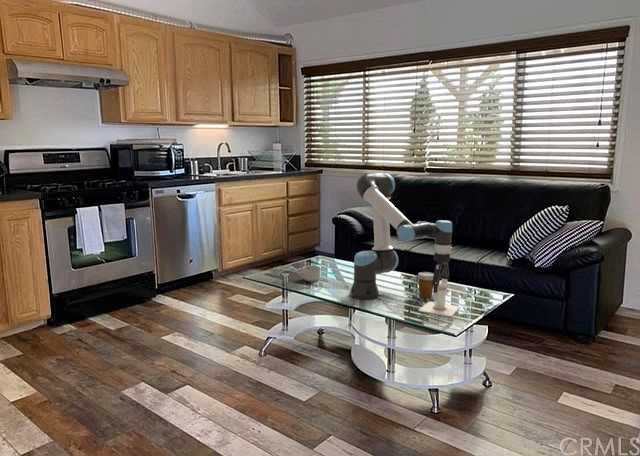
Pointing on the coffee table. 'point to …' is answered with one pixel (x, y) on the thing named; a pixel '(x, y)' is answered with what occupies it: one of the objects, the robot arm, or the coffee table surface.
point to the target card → (448, 310)
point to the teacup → (310, 273)
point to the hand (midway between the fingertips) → (439, 295)
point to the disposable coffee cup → (425, 284)
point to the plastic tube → (441, 297)
